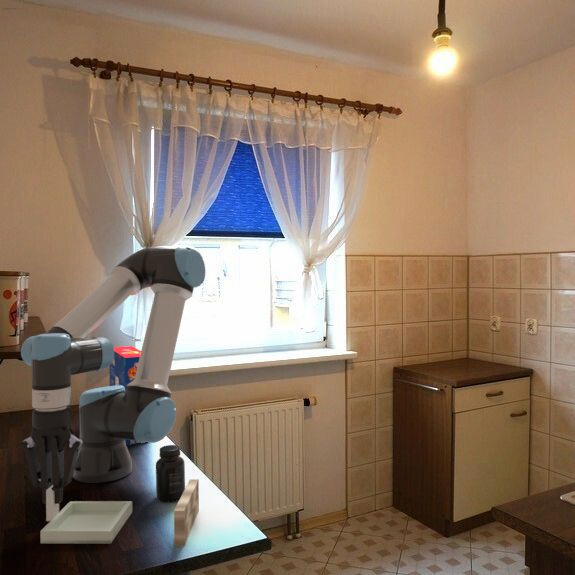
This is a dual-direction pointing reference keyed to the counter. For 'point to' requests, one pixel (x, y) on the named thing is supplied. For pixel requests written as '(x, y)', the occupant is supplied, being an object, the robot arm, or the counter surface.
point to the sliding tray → (87, 522)
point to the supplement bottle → (170, 474)
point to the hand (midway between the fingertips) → (52, 518)
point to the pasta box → (124, 369)
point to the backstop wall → (186, 512)
